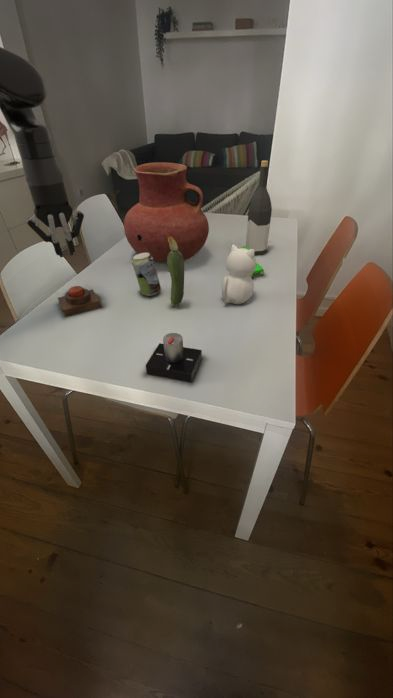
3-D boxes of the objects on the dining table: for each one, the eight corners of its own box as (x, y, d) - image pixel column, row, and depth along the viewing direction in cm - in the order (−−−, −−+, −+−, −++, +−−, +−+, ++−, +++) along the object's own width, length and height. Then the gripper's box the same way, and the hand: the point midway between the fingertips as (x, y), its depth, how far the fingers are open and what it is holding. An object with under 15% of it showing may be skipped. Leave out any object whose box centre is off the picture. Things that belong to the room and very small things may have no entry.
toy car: (228, 268, 110) (229, 249, 105) (244, 263, 112) (246, 245, 108) (247, 280, 102) (249, 260, 98) (264, 275, 104) (267, 256, 100)
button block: (65, 317, 86) (61, 304, 84) (59, 304, 92) (55, 291, 89) (101, 307, 90) (98, 294, 88) (94, 295, 96) (91, 283, 93)
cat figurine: (259, 295, 94) (265, 245, 84) (237, 313, 86) (241, 260, 77) (233, 287, 98) (236, 239, 89) (210, 304, 90) (210, 252, 81)
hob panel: (146, 374, 67) (145, 365, 66) (160, 351, 74) (159, 342, 72) (191, 383, 65) (191, 373, 64) (202, 358, 71) (201, 349, 70)
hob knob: (168, 350, 70) (167, 330, 67) (186, 353, 69) (185, 333, 66) (162, 361, 67) (159, 341, 64) (180, 364, 66) (178, 344, 63)
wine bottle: (271, 252, 120) (282, 161, 101) (254, 257, 117) (263, 163, 98) (257, 246, 125) (266, 158, 107) (241, 250, 122) (247, 160, 104)
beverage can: (160, 297, 94) (156, 258, 86) (135, 298, 94) (129, 259, 87) (162, 288, 99) (158, 250, 91) (138, 288, 99) (133, 250, 92)
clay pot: (118, 272, 108) (99, 173, 90) (141, 242, 131) (130, 158, 113) (203, 276, 105) (203, 173, 86) (212, 244, 128) (213, 158, 109)
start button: (72, 298, 87) (70, 293, 86) (69, 293, 89) (67, 287, 88) (85, 295, 88) (83, 289, 87) (82, 290, 91) (80, 284, 90)
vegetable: (182, 301, 92) (178, 231, 80) (188, 308, 89) (186, 236, 76) (168, 305, 90) (162, 234, 78) (174, 312, 87) (169, 239, 75)
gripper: (72, 174, 76) (89, 245, 87) (10, 181, 71) (35, 256, 82) (80, 179, 71) (96, 254, 82) (13, 187, 66) (40, 266, 77)
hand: (66, 255), depth 82 cm, fingers closed
